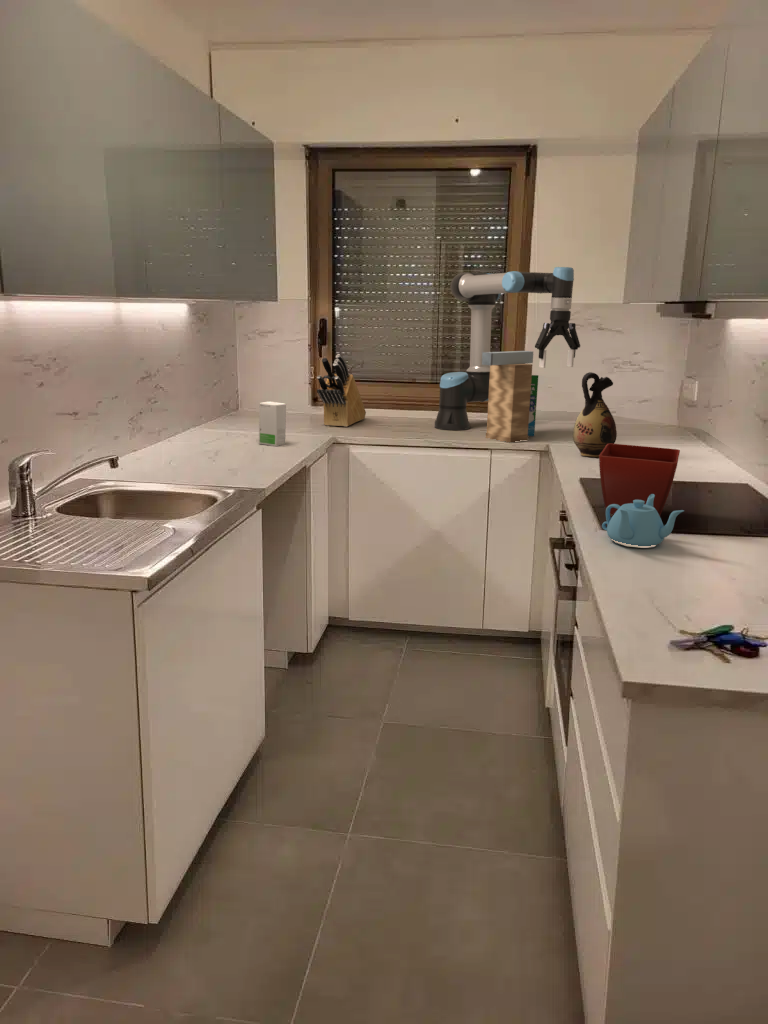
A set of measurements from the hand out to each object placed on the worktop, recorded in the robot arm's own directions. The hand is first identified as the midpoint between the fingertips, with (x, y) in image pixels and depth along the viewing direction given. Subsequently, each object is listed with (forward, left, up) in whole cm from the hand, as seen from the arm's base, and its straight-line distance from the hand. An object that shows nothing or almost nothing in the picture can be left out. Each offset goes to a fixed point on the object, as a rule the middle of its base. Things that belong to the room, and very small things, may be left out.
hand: (556, 367), depth 307 cm
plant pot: (+82, -64, -30) cm, 108 cm away
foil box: (-16, -10, 0) cm, 19 cm away
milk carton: (-21, +7, -30) cm, 37 cm away
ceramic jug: (+25, -7, -30) cm, 39 cm away
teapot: (+99, -86, -30) cm, 134 cm away
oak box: (-16, -8, -30) cm, 34 cm away
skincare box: (-57, -92, -30) cm, 112 cm away
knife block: (-82, -42, -30) cm, 97 cm away
